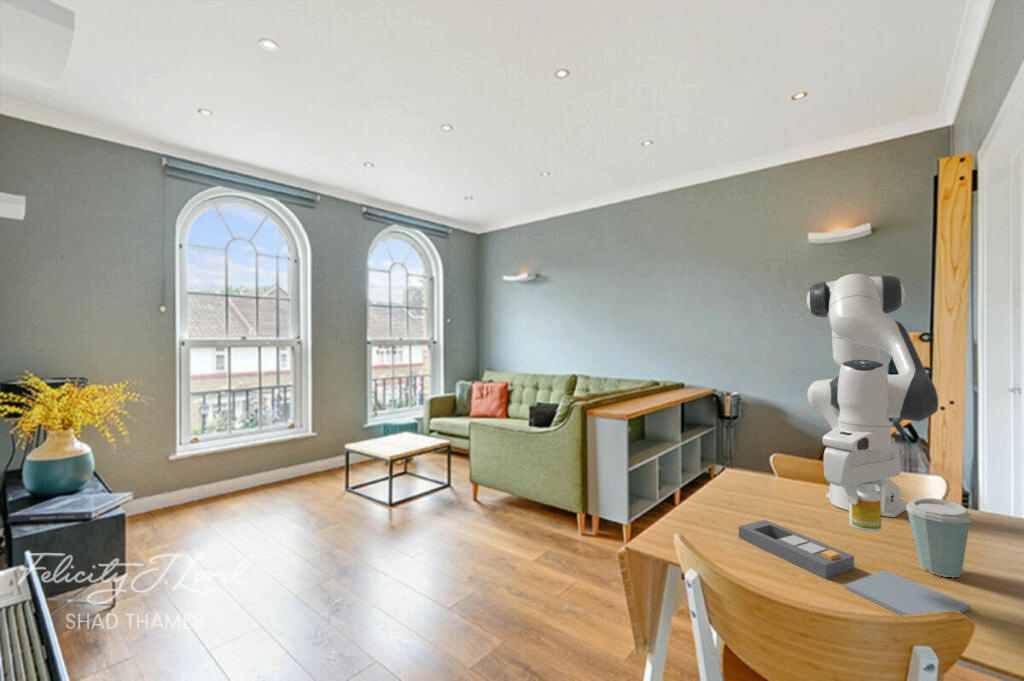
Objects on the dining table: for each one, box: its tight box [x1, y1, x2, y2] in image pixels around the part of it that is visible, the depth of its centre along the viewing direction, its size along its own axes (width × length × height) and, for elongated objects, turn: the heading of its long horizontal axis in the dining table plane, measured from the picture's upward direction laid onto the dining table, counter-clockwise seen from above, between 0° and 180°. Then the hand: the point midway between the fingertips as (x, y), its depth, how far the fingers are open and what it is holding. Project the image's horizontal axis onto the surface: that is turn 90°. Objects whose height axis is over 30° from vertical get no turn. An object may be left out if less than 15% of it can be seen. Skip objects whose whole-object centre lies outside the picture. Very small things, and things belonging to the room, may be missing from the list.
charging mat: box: [845, 569, 971, 616], centre depth 88 cm, size 14×14×1 cm
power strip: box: [738, 519, 855, 580], centre depth 108 cm, size 10×22×4 cm, turn 23°
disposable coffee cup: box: [905, 497, 973, 579], centre depth 98 cm, size 11×11×15 cm
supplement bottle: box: [848, 481, 882, 533], centre depth 94 cm, size 5×5×10 cm
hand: (864, 501), depth 94 cm, fingers closed on supplement bottle, 5 cm apart
